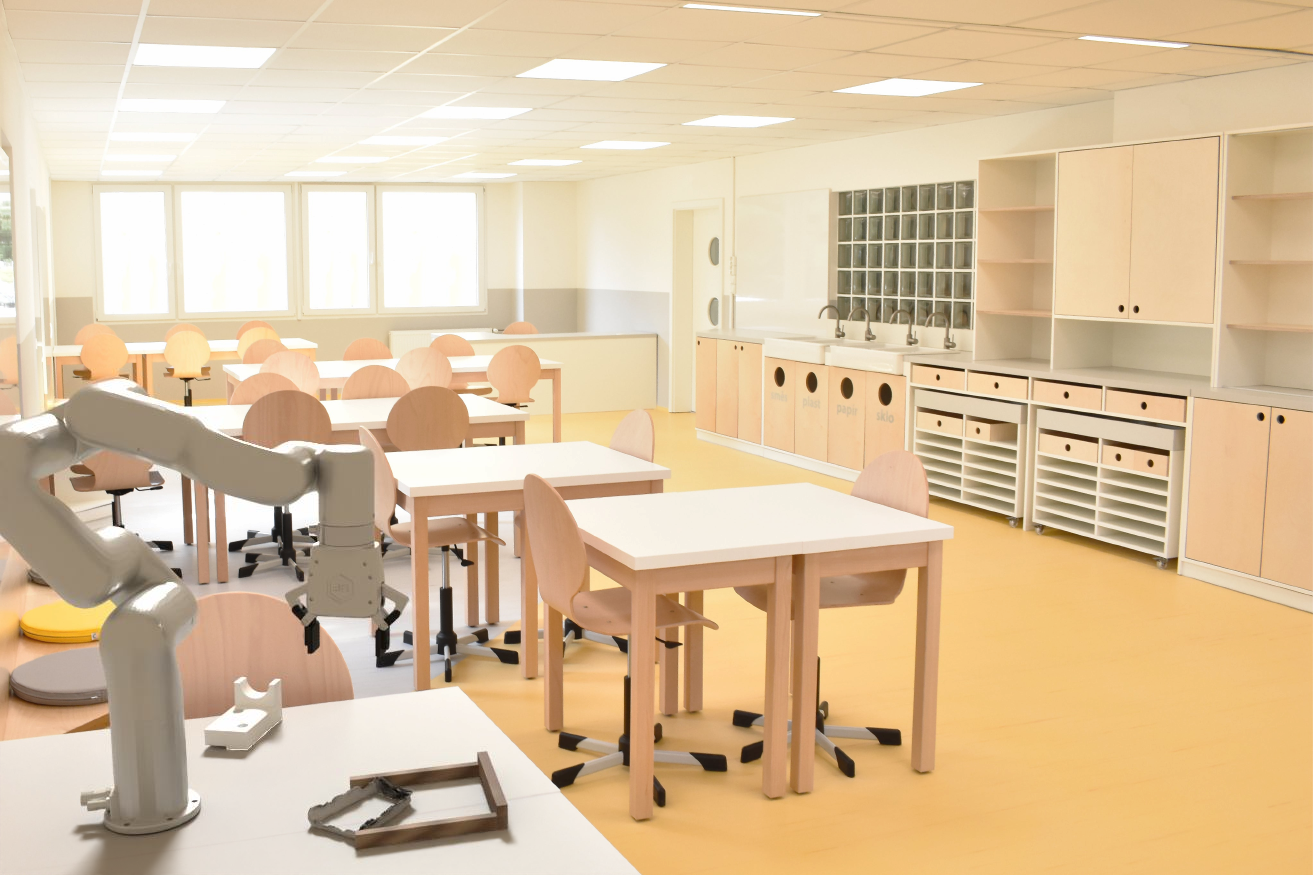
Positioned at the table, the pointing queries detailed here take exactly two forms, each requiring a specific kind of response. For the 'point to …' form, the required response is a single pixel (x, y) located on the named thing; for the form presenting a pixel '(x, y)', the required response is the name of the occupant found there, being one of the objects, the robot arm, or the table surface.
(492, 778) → the stop bay
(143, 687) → the robot arm
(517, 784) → the table surface
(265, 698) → the bracket
